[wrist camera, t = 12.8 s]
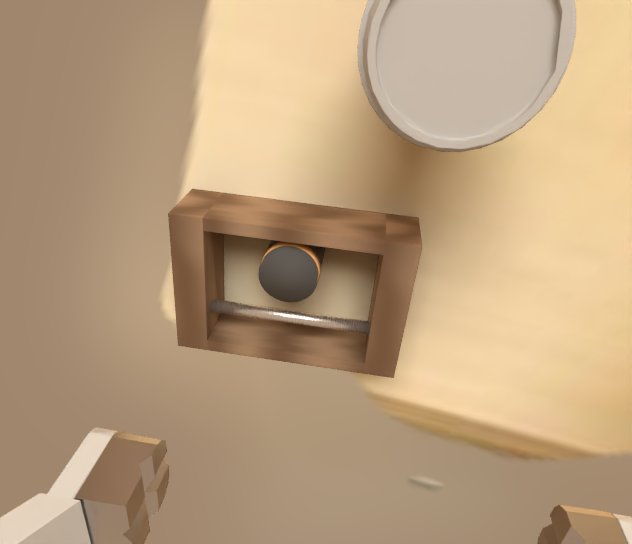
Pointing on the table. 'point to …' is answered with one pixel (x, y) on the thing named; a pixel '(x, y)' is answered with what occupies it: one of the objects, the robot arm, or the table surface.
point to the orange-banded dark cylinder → (290, 270)
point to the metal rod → (290, 316)
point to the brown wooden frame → (303, 228)
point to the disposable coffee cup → (463, 66)
